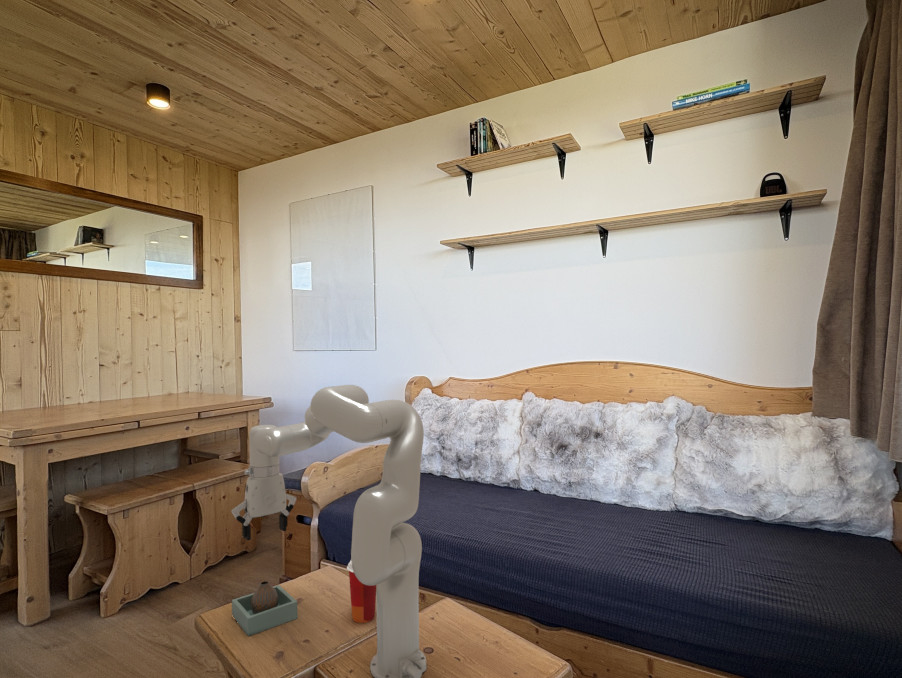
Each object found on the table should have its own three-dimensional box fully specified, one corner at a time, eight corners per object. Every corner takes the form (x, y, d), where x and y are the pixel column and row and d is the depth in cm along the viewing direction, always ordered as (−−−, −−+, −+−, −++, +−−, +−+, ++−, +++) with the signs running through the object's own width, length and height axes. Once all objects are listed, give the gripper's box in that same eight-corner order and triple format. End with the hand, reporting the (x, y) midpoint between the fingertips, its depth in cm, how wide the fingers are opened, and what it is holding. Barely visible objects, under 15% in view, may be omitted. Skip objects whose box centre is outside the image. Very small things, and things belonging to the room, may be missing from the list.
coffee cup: (378, 608, 141) (377, 553, 141) (379, 623, 133) (378, 566, 133) (348, 611, 139) (347, 556, 140) (347, 627, 131) (346, 568, 132)
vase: (272, 622, 133) (272, 588, 133) (246, 622, 134) (246, 588, 134) (282, 608, 140) (281, 576, 140) (257, 608, 140) (257, 576, 141)
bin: (297, 618, 136) (297, 601, 136) (248, 636, 128) (247, 618, 128) (278, 600, 146) (278, 584, 146) (231, 616, 138) (231, 599, 138)
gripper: (236, 479, 129) (237, 546, 129) (300, 468, 141) (301, 530, 140) (227, 474, 135) (227, 538, 135) (289, 463, 146) (290, 523, 146)
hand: (265, 534), depth 137 cm, fingers open, 9 cm apart
